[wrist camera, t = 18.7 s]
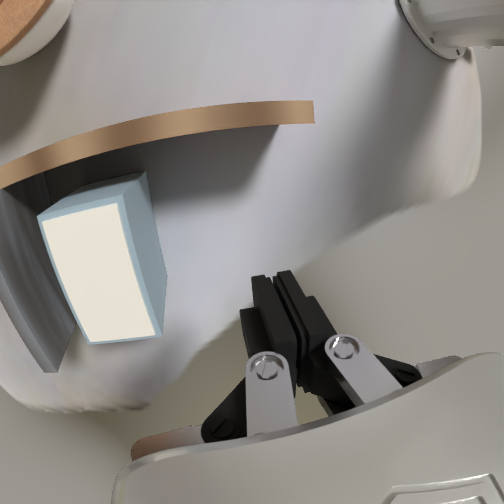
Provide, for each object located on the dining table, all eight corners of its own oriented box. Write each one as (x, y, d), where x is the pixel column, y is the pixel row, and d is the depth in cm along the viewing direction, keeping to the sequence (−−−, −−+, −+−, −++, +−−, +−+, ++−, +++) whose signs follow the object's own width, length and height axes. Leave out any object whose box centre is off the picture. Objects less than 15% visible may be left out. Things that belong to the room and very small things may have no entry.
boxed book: (146, 171, 21) (121, 195, 13) (167, 275, 26) (162, 338, 18) (83, 185, 20) (35, 217, 13) (110, 284, 25) (88, 346, 17)
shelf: (278, 106, 21) (336, 97, 13) (288, 267, 28) (330, 330, 19) (-5, 174, 17) (-70, 205, 8) (41, 308, 24) (7, 371, 15)
